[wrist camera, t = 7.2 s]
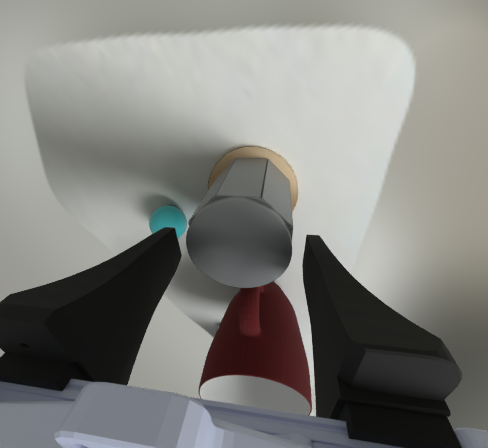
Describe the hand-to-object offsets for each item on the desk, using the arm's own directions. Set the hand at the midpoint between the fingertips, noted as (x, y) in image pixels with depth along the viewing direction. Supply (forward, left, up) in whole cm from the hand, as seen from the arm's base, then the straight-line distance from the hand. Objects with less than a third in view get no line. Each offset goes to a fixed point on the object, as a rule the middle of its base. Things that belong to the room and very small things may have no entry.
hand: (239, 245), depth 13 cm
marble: (-2, +7, -7) cm, 10 cm away
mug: (-10, -1, -7) cm, 13 cm away
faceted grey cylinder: (0, 0, -6) cm, 6 cm away
